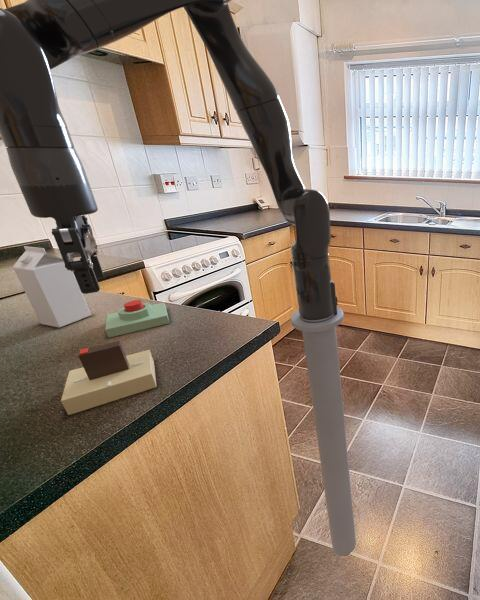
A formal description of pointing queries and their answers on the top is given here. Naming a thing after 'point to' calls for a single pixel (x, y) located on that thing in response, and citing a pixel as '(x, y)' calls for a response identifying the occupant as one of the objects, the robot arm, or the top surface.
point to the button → (133, 306)
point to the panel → (108, 384)
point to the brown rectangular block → (103, 360)
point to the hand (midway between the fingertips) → (94, 284)
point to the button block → (136, 319)
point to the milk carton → (50, 288)
